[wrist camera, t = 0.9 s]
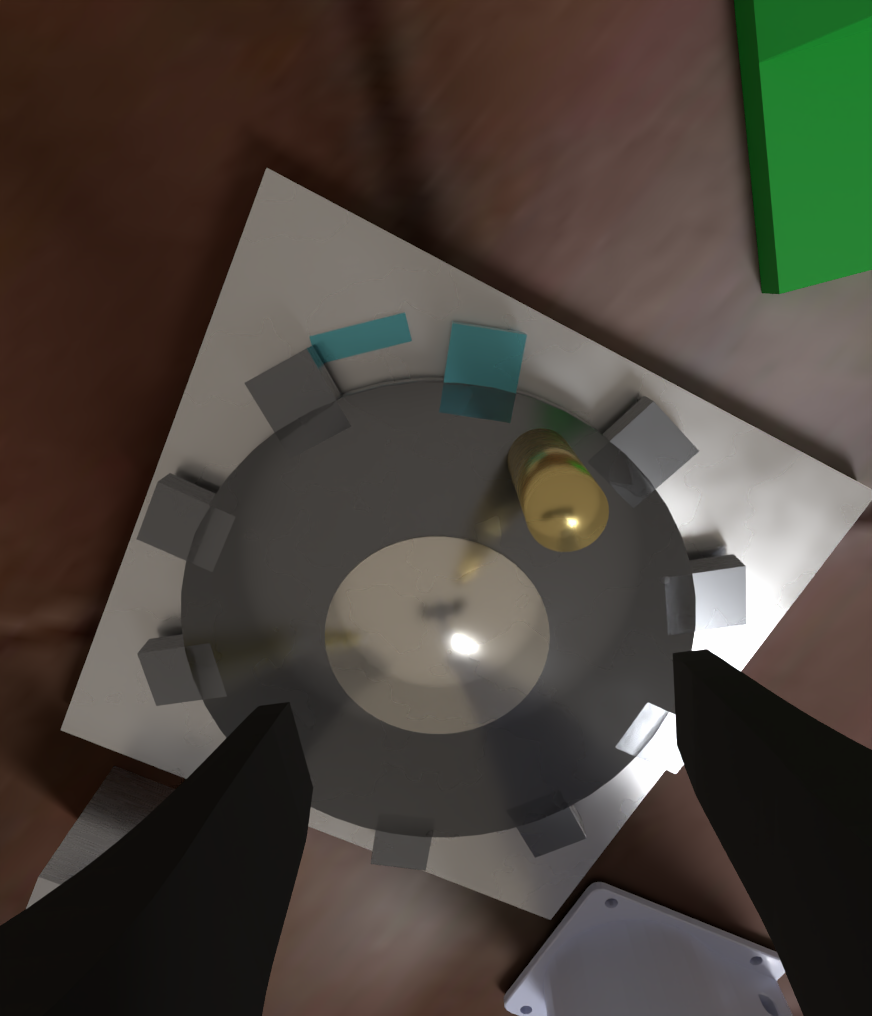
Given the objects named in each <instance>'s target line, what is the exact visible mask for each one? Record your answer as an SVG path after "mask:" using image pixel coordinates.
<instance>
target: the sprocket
mask: <svg viewBox="0 0 872 1016" xmlns="http://www.w3.org/2000/svg"><path fill="white" fill-rule="evenodd" d="M526 338H527V334H525V333H524V332H520V331H513V330H507V329H500V328H494V327H487V326H481V325H474V324H468V323H462V322H455V321H452V326H451V333H450V339H449V346H448V353H447V359H446V366H445V373H444V378H413V379H405V380H397V381H389V382H383V383H379V384H375V385H372V386H368V387H364V388H360V389H356V390H353V391H349V392H347V393H344V394H342V395H341V394H340V392H339V390H338V388H337V386H336V385H335V383H334V381H333V379H332V378H331V376H330V374H329V372H328V371H327V369H326V367H325V365H324V364H323V362H322V360H321V358H320V357H319V355H318V353H317V351H316V350H315V348H314V346H313V345H312V346H310V347H308V348H306V349H305V350H303V351H301V352H299V353H297V354H296V355H294V356H292V357H290V358H288V359H287V360H285V361H283V362H281V363H279V364H278V365H276V366H274V367H272V368H270V369H269V370H267V371H265V372H263V373H261V374H260V375H258V376H256V377H254V378H252V379H251V380H249V381H247V382H245V383H244V384H245V385H246V387H247V388H248V390H249V392H250V393H251V395H252V397H253V398H254V400H255V401H256V403H257V405H258V406H259V408H260V410H261V411H262V413H263V415H264V416H265V418H266V419H267V421H268V423H269V424H270V426H271V428H272V429H273V431H274V433H273V434H272V435H270V436H269V437H268V438H267V439H265V440H264V441H263V442H262V443H260V444H259V445H258V446H257V447H256V448H255V449H254V450H253V451H252V452H251V453H250V454H249V455H248V456H247V457H246V458H245V459H244V460H243V461H242V462H241V463H240V464H239V465H238V466H237V468H236V469H235V470H234V471H233V472H232V473H231V474H230V475H229V476H228V477H227V479H226V480H225V482H224V483H223V485H222V486H221V487H220V489H219V490H218V492H217V493H216V494H215V493H213V492H211V491H209V490H207V489H204V488H202V487H200V486H198V485H196V484H193V483H191V482H189V481H187V480H185V479H182V478H180V477H178V476H176V475H174V474H171V473H169V474H168V475H166V476H165V477H163V478H162V479H161V480H159V481H158V482H157V485H156V487H155V490H154V493H153V495H152V498H151V501H150V504H149V506H148V509H147V512H146V514H145V517H144V520H143V523H142V525H141V528H140V531H139V533H138V536H137V540H140V541H142V542H144V543H146V544H149V545H151V546H153V547H156V548H158V549H160V550H163V551H165V552H167V553H169V554H172V555H174V556H176V557H179V558H181V559H183V560H185V561H186V564H185V570H184V577H183V583H182V590H181V626H182V633H183V634H180V635H173V636H166V637H159V638H152V639H149V640H148V641H147V642H146V643H145V645H144V646H143V647H142V648H141V650H140V651H139V652H138V653H137V655H138V658H139V660H140V663H141V666H142V668H143V671H144V674H145V677H146V679H147V682H148V685H149V687H150V690H151V693H152V696H153V698H154V701H155V704H156V706H161V705H168V704H175V703H182V702H190V701H197V700H203V702H204V704H205V706H206V708H207V709H208V711H209V713H210V714H211V716H212V718H213V719H214V721H215V722H216V724H217V726H218V727H219V729H220V730H221V732H222V733H223V734H224V735H225V737H226V738H227V737H228V736H229V735H230V734H231V733H232V732H233V731H234V730H235V729H236V728H237V727H238V726H239V725H240V724H241V723H242V722H243V721H244V719H245V718H246V717H247V716H248V715H250V714H251V713H252V712H253V711H254V710H255V709H256V708H257V707H258V706H261V705H269V704H277V703H285V702H290V705H291V709H292V712H293V716H294V720H295V723H296V727H297V730H298V734H299V738H300V741H301V745H302V749H303V752H304V756H305V760H306V763H307V767H308V770H309V774H310V778H311V781H312V785H313V794H312V801H311V807H312V808H314V809H316V810H319V811H321V812H323V813H325V814H327V815H330V816H332V817H334V818H337V819H340V820H343V821H346V822H349V823H352V824H355V825H358V826H361V827H364V828H368V829H373V830H375V836H374V842H373V850H372V858H371V864H377V865H385V866H393V867H401V868H409V869H417V870H425V871H426V866H427V861H428V856H429V850H430V845H431V840H432V837H462V836H474V835H483V834H488V833H493V832H498V831H503V830H508V829H512V828H515V827H516V828H517V829H518V831H519V833H520V834H521V836H522V837H523V839H524V841H525V842H526V844H527V846H528V847H529V849H530V851H531V852H532V854H533V855H534V857H535V858H536V857H539V856H541V855H544V854H547V853H549V852H552V851H555V850H557V849H560V848H563V847H565V846H568V845H571V844H573V843H576V842H579V841H581V840H584V839H587V837H586V833H585V829H584V825H583V821H582V818H581V816H580V814H579V813H578V811H577V809H576V807H575V806H574V804H575V803H577V802H578V801H580V800H582V799H584V798H586V797H587V796H589V795H591V794H592V793H594V792H595V791H596V790H598V789H599V788H600V787H602V786H603V785H605V784H606V783H607V782H609V781H610V780H612V779H613V778H614V777H615V776H616V775H618V774H619V773H620V772H621V771H622V770H623V769H624V768H625V767H626V766H627V765H628V764H629V763H631V762H632V761H633V760H634V759H635V758H636V757H638V758H640V759H642V760H645V761H647V762H649V763H651V764H654V765H656V766H658V767H661V768H663V769H665V770H668V771H670V772H672V773H674V774H677V772H678V771H679V770H680V768H681V767H682V766H683V764H684V763H683V760H682V758H681V755H680V752H679V750H678V747H677V741H676V719H675V696H674V674H673V653H677V652H685V651H692V648H693V641H694V635H695V632H696V631H703V630H711V629H718V628H725V627H732V626H740V625H747V623H746V566H745V565H744V564H743V563H742V562H741V561H740V560H739V559H738V558H737V557H736V556H735V555H734V554H729V555H723V556H716V557H709V558H702V559H695V560H689V558H688V554H687V551H686V548H685V545H684V541H683V538H682V535H681V533H680V531H679V529H678V527H677V525H676V523H675V521H674V519H673V517H672V515H671V513H670V511H669V509H668V507H667V505H666V504H665V502H664V501H663V499H662V498H661V496H660V495H659V493H658V492H657V491H656V488H658V487H659V486H660V485H661V484H662V483H663V482H664V481H666V480H667V479H668V478H669V477H670V476H671V475H673V474H674V473H675V472H676V471H677V470H678V469H679V468H681V467H682V466H683V465H684V464H685V463H686V462H688V461H689V460H690V459H691V458H692V457H693V456H694V455H696V454H697V453H698V452H699V450H698V449H697V448H696V447H695V446H694V445H693V444H692V442H691V441H690V440H689V439H688V438H687V437H686V436H685V435H684V434H683V433H682V432H681V430H680V429H679V428H678V427H677V426H676V425H675V424H674V423H673V422H672V421H671V420H670V418H669V417H668V416H667V415H666V414H665V413H664V412H663V411H662V410H661V409H660V407H659V406H658V405H657V404H656V403H655V402H654V401H653V400H651V399H649V398H648V397H646V396H644V397H642V398H641V399H640V400H639V401H638V402H637V403H636V404H635V405H634V406H633V407H632V408H630V409H629V410H628V411H627V412H626V413H625V414H624V415H623V416H622V417H621V418H619V419H618V420H617V421H616V422H615V423H614V424H613V425H612V426H611V427H610V428H609V429H607V430H606V431H605V432H604V433H603V434H602V433H601V432H599V431H598V430H597V429H596V428H594V427H593V426H592V425H591V424H589V423H587V422H586V421H584V420H582V419H581V418H579V417H577V416H576V415H574V414H572V413H571V412H569V411H567V410H566V409H564V408H563V407H561V406H558V405H556V404H554V403H551V402H549V401H547V400H544V399H542V398H540V397H537V396H535V395H533V394H530V393H528V392H525V391H521V390H517V385H518V380H519V375H520V369H521V364H522V359H523V354H524V348H525V343H526Z"/></svg>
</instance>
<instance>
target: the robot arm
mask: <svg viewBox="0 0 872 1016" xmlns="http://www.w3.org/2000/svg"><path fill="white" fill-rule="evenodd" d="M673 674H674V696H675V719H676V741H677V747H678V750H679V752H680V755H681V758H682V760H683V763H684V766H685V768H686V771H687V774H688V776H689V779H690V781H691V784H692V786H693V789H694V791H695V794H696V796H697V798H698V800H699V802H700V804H701V806H702V808H703V810H704V812H705V814H706V816H707V817H708V819H709V821H710V823H711V825H712V827H713V829H714V831H715V833H716V835H717V836H718V838H719V840H720V842H721V844H722V846H723V848H724V850H725V851H726V853H727V855H728V857H729V859H730V861H731V863H732V864H733V866H734V868H735V870H736V872H737V874H738V876H739V878H740V879H741V881H742V883H743V885H744V887H745V889H746V891H747V893H748V894H749V896H750V898H751V900H752V902H753V904H754V906H755V908H756V909H757V911H758V913H759V915H760V917H761V919H762V921H763V923H764V925H765V927H766V930H767V932H768V934H769V936H770V938H771V940H772V942H773V944H774V946H775V949H776V951H777V952H776V951H773V950H771V949H768V948H766V947H763V946H761V945H758V944H756V943H753V942H751V941H748V940H746V939H743V938H741V937H738V936H736V935H733V934H731V933H728V932H726V931H723V930H721V929H718V928H716V927H713V926H711V925H708V924H706V923H703V922H701V921H698V920H696V919H693V918H691V917H688V916H686V915H683V914H681V913H679V912H676V911H674V910H671V909H669V908H666V907H664V906H661V905H659V904H656V903H654V902H651V901H649V900H646V899H644V898H641V897H639V896H636V895H634V894H631V893H629V892H626V891H624V890H621V889H619V888H616V887H614V886H611V885H609V884H606V883H603V882H595V883H592V884H591V885H590V886H589V887H588V888H587V889H586V890H585V891H584V893H583V894H582V895H581V897H580V898H579V899H578V901H577V902H576V903H575V904H574V906H573V907H572V908H571V910H570V911H569V912H568V913H567V915H566V916H565V917H564V919H563V920H562V921H561V923H560V924H559V925H558V926H557V928H556V929H555V930H554V932H553V933H552V934H551V935H550V937H549V938H548V939H547V941H546V942H545V943H544V944H543V946H542V947H541V948H540V950H539V951H538V952H537V954H536V955H535V956H534V957H533V959H532V960H531V961H530V963H529V964H528V965H527V966H526V968H525V969H524V970H523V972H522V973H521V974H520V976H519V977H518V978H517V979H516V981H515V982H514V983H513V985H512V986H511V987H510V988H509V990H508V991H507V992H506V994H505V996H504V1005H505V1008H506V1010H507V1011H509V1012H511V1013H513V1014H516V1015H519V1016H793V1015H792V1013H791V1010H790V1008H789V1006H788V1004H787V1002H786V1000H785V998H784V996H783V993H782V991H781V989H780V987H779V985H778V983H777V980H778V979H779V978H780V977H781V976H782V975H783V974H784V973H785V972H786V975H787V977H788V980H789V982H790V984H791V987H792V989H793V991H794V994H795V996H796V998H797V1001H798V1003H799V1006H800V1008H801V1010H802V1013H803V1015H804V1016H872V750H871V749H869V748H867V747H865V746H863V745H861V744H859V743H857V742H855V741H853V740H852V739H850V738H848V737H846V736H844V735H843V734H841V733H839V732H837V731H835V730H834V729H832V728H830V727H828V726H827V725H825V724H823V723H821V722H819V721H818V720H816V719H814V718H813V717H811V716H809V715H808V714H806V713H804V712H803V711H801V710H799V709H798V708H796V707H795V706H793V705H791V704H790V703H788V702H787V701H785V700H783V699H782V698H780V697H779V696H777V695H776V694H774V693H773V692H771V691H769V690H768V689H766V688H765V687H763V686H762V685H760V684H759V683H757V682H756V681H754V680H753V679H751V678H750V677H748V676H747V675H745V674H744V673H742V672H741V671H739V670H738V669H736V668H735V667H733V666H732V665H731V664H729V663H728V662H726V661H725V660H723V659H722V658H720V657H719V656H717V655H716V654H714V653H712V652H711V651H709V650H708V649H701V650H693V651H685V652H677V653H673ZM312 794H313V785H312V781H311V778H310V774H309V770H308V767H307V763H306V760H305V756H304V752H303V749H302V745H301V741H300V738H299V734H298V730H297V727H296V723H295V720H294V716H293V712H292V709H291V705H290V702H285V703H277V704H269V705H261V706H258V707H257V708H256V709H255V710H254V711H253V712H252V713H251V714H250V715H248V716H247V717H246V718H245V719H244V721H243V722H242V723H241V724H240V725H239V726H238V727H237V728H236V729H235V730H234V731H233V732H232V733H231V734H230V735H229V736H228V737H227V738H226V739H225V740H224V741H223V742H222V743H221V744H220V745H219V746H218V747H217V748H216V749H215V750H214V751H213V753H212V754H211V755H210V756H209V757H208V758H207V759H206V760H205V761H204V762H203V763H202V764H201V765H200V766H199V767H198V768H197V769H196V770H195V771H194V772H193V773H192V774H191V775H190V776H189V777H188V778H187V779H186V780H185V781H184V782H183V783H182V784H181V785H179V786H178V787H177V788H176V789H175V790H174V791H173V792H172V793H171V794H170V795H169V796H168V797H167V798H166V799H165V800H163V801H162V802H161V803H160V804H159V805H158V806H157V807H156V808H155V809H154V810H153V811H152V812H151V813H150V814H149V815H147V816H146V817H145V818H144V819H143V820H142V821H141V822H140V823H139V824H137V825H136V826H135V827H134V828H133V829H132V830H130V831H129V832H128V833H127V834H126V835H125V836H123V837H122V838H121V839H120V840H119V841H117V842H116V843H115V844H114V845H112V846H111V847H110V848H109V849H107V850H106V851H105V852H104V853H102V854H101V855H100V856H99V857H97V858H96V859H95V860H94V861H92V862H91V863H90V864H88V865H87V866H86V867H85V868H83V869H82V870H81V871H79V872H78V873H76V874H75V875H74V876H72V877H71V878H69V879H68V880H67V881H65V882H64V883H62V884H61V885H59V886H58V887H57V888H55V889H54V890H52V891H51V892H50V893H48V894H47V895H45V896H44V897H43V898H41V899H40V900H38V901H37V902H35V903H34V904H33V905H31V906H30V907H28V908H27V909H26V910H24V911H23V912H21V913H20V914H18V915H16V916H15V917H13V918H12V919H10V920H9V921H7V922H6V923H4V924H2V925H1V926H0V1016H262V1012H263V1006H264V1001H265V995H266V990H267V986H268V982H269V977H270V973H271V969H272V964H273V961H274V957H275V953H276V950H277V946H278V942H279V939H280V935H281V931H282V928H283V924H284V920H285V917H286V913H287V909H288V906H289V902H290V899H291V895H292V891H293V888H294V884H295V880H296V876H297V873H298V869H299V865H300V861H301V858H302V854H303V850H304V846H305V842H306V837H307V830H308V824H309V817H310V809H311V801H312ZM611 898H612V899H611Z"/></svg>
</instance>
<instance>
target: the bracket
mask: <svg viewBox="0 0 872 1016" xmlns="http://www.w3.org/2000/svg"><path fill="white" fill-rule="evenodd" d="M734 7H735V17H736V28H737V38H738V49H739V59H740V70H741V80H742V91H743V101H744V111H745V122H746V132H747V143H748V153H749V164H750V174H751V185H752V195H753V206H754V216H755V226H756V237H757V247H758V258H759V268H760V279H761V289H762V293H770V294H781V293H785V292H789V291H793V290H796V289H800V288H804V287H808V286H812V285H815V284H819V283H823V282H827V281H831V280H834V279H838V278H842V277H846V276H850V275H853V274H857V273H861V272H865V271H868V270H872V0H734Z"/></svg>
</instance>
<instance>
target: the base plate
mask: <svg viewBox="0 0 872 1016" xmlns="http://www.w3.org/2000/svg"><path fill="white" fill-rule="evenodd" d="M452 321H455V322H462V323H468V324H474V325H481V326H487V327H494V328H500V329H507V330H513V331H520V332H524V333H525V334H527V338H526V343H525V348H524V354H523V359H522V364H521V369H520V375H519V380H518V385H517V390H521V391H525V392H528V393H530V394H533V395H535V396H537V397H540V398H542V399H544V400H547V401H549V402H551V403H554V404H556V405H558V406H561V407H563V408H564V409H566V410H567V411H569V412H571V413H572V414H574V415H576V416H577V417H579V418H581V419H582V420H584V421H586V422H587V423H589V424H591V425H592V426H593V427H594V428H596V429H597V430H598V431H599V432H601V433H602V434H603V433H604V432H605V431H606V430H607V429H609V428H610V427H611V426H612V425H613V424H614V423H615V422H616V421H617V420H618V419H619V418H621V417H622V416H623V415H624V414H625V413H626V412H627V411H628V410H629V409H630V408H632V407H633V406H634V405H635V404H636V403H637V402H638V401H639V400H640V399H641V398H642V397H644V396H646V397H648V398H649V399H651V400H653V401H654V402H655V403H656V404H657V405H658V406H659V407H660V409H661V410H662V411H663V412H664V413H665V414H666V415H667V416H668V417H669V418H670V420H671V421H672V422H673V423H674V424H675V425H676V426H677V427H678V428H679V429H680V430H681V432H682V433H683V434H684V435H685V436H686V437H687V438H688V439H689V440H690V441H691V442H692V444H693V445H694V446H695V447H696V448H697V449H698V450H699V452H698V453H697V454H696V455H694V456H693V457H692V458H691V459H690V460H689V461H688V462H686V463H685V464H684V465H683V466H682V467H681V468H679V469H678V470H677V471H676V472H675V473H674V474H673V475H671V476H670V477H669V478H668V479H667V480H666V481H664V482H663V483H662V484H661V485H660V486H659V487H658V488H656V491H657V492H658V493H659V495H660V496H661V498H662V499H663V501H664V502H665V504H666V505H667V507H668V509H669V511H670V513H671V515H672V517H673V519H674V521H675V523H676V525H677V527H678V529H679V531H680V533H681V535H682V538H683V541H684V545H685V548H686V551H687V554H688V558H689V560H695V559H702V558H709V557H716V556H723V555H729V554H734V555H735V556H736V557H737V558H738V559H739V560H740V561H741V562H742V563H743V564H744V565H745V566H746V623H747V625H740V626H732V627H725V628H718V629H711V630H703V631H696V632H695V635H694V641H693V648H692V651H693V650H701V649H708V650H709V651H711V652H712V653H714V654H716V655H717V656H719V657H720V658H722V659H723V660H725V661H726V662H728V663H729V664H731V665H732V666H733V667H735V668H736V669H738V670H739V671H741V670H742V669H743V668H744V667H745V665H746V664H747V663H748V661H749V660H750V659H751V657H752V656H753V655H754V653H755V652H756V651H757V650H758V648H759V647H760V646H761V644H762V643H763V642H764V640H765V639H766V638H767V636H768V635H769V634H770V633H771V631H772V630H773V629H774V627H775V626H776V625H777V623H778V622H779V621H780V619H781V618H782V617H783V616H784V614H785V613H786V612H787V610H788V609H789V608H790V606H791V605H792V604H793V602H794V601H795V600H796V599H797V597H798V596H799V595H800V593H801V592H802V591H803V589H804V588H805V587H806V585H807V584H808V583H809V582H810V580H811V579H812V578H813V576H814V575H815V574H816V572H817V571H818V570H819V568H820V567H821V566H822V565H823V563H824V562H825V561H826V559H827V558H828V557H829V555H830V554H831V553H832V551H833V550H834V549H835V548H836V546H837V545H838V544H839V542H840V541H841V540H842V538H843V537H844V536H845V534H846V533H847V532H848V531H849V529H850V528H851V527H852V525H853V524H854V523H855V521H856V520H857V519H858V517H859V516H860V515H861V514H862V512H863V511H864V510H865V508H866V507H867V506H868V504H869V503H870V502H871V500H872V489H870V488H869V487H867V486H865V485H863V484H861V483H859V482H857V481H855V480H854V479H852V478H850V477H848V476H846V475H844V474H842V473H840V472H838V471H837V470H835V469H833V468H831V467H829V466H827V465H825V464H823V463H822V462H820V461H818V460H816V459H814V458H812V457H810V456H808V455H806V454H805V453H803V452H801V451H799V450H797V449H795V448H793V447H791V446H790V445H788V444H786V443H784V442H782V441H780V440H778V439H776V438H775V437H773V436H771V435H769V434H767V433H765V432H763V431H761V430H759V429H758V428H756V427H754V426H752V425H750V424H748V423H746V422H744V421H743V420H741V419H739V418H737V417H735V416H733V415H731V414H729V413H727V412H726V411H724V410H722V409H720V408H718V407H716V406H714V405H712V404H711V403H709V402H707V401H705V400H703V399H701V398H699V397H697V396H695V395H694V394H692V393H690V392H688V391H686V390H684V389H682V388H680V387H679V386H677V385H675V384H673V383H671V382H669V381H667V380H665V379H664V378H662V377H660V376H658V375H656V374H654V373H652V372H650V371H648V370H647V369H645V368H643V367H641V366H639V365H637V364H635V363H633V362H632V361H630V360H628V359H626V358H624V357H622V356H620V355H618V354H616V353H615V352H613V351H611V350H609V349H607V348H605V347H603V346H601V345H600V344H598V343H596V342H594V341H592V340H590V339H588V338H586V337H584V336H583V335H581V334H579V333H577V332H575V331H573V330H571V329H569V328H568V327H566V326H564V325H562V324H560V323H558V322H556V321H554V320H553V319H551V318H549V317H547V316H545V315H543V314H541V313H539V312H537V311H536V310H534V309H532V308H530V307H528V306H526V305H524V304H522V303H521V302H519V301H517V300H515V299H513V298H511V297H509V296H507V295H505V294H504V293H502V292H500V291H498V290H496V289H494V288H492V287H490V286H489V285H487V284H485V283H483V282H481V281H479V280H477V279H475V278H473V277H472V276H470V275H468V274H466V273H464V272H462V271H460V270H458V269H457V268H455V267H453V266H451V265H449V264H447V263H445V262H443V261H442V260H440V259H438V258H436V257H434V256H432V255H430V254H428V253H426V252H425V251H423V250H421V249H419V248H417V247H415V246H413V245H411V244H410V243H408V242H406V241H404V240H402V239H400V238H398V237H396V236H394V235H393V234H391V233H389V232H387V231H385V230H383V229H381V228H379V227H378V226H376V225H374V224H372V223H370V222H368V221H366V220H364V219H362V218H361V217H359V216H357V215H355V214H353V213H351V212H349V211H347V210H346V209H344V208H342V207H340V206H338V205H336V204H334V203H332V202H331V201H329V200H327V199H325V198H323V197H321V196H319V195H317V194H315V193H314V192H312V191H310V190H308V189H306V188H304V187H302V186H300V185H299V184H297V183H295V182H293V181H291V180H289V179H287V178H285V177H283V176H282V175H280V174H278V173H276V172H274V171H272V170H270V169H268V168H266V170H265V173H264V176H263V179H262V181H261V184H260V187H259V189H258V192H257V195H256V198H255V200H254V203H253V206H252V209H251V211H250V214H249V217H248V219H247V222H246V225H245V228H244V230H243V233H242V236H241V239H240V241H239V244H238V247H237V250H236V252H235V255H234V258H233V260H232V263H231V266H230V269H229V271H228V274H227V277H226V280H225V282H224V285H223V288H222V290H221V293H220V296H219V299H218V301H217V304H216V307H215V310H214V312H213V315H212V318H211V320H210V323H209V326H208V329H207V331H206V334H205V337H204V340H203V342H202V345H201V348H200V350H199V353H198V356H197V359H196V361H195V364H194V367H193V370H192V372H191V375H190V378H189V381H188V383H187V386H186V389H185V391H184V394H183V397H182V400H181V402H180V405H179V408H178V411H177V413H176V416H175V419H174V421H173V424H172V427H171V430H170V432H169V435H168V438H167V441H166V443H165V446H164V449H163V451H162V454H161V457H160V460H159V462H158V465H157V468H156V471H155V473H154V476H153V479H152V481H151V484H150V487H149V490H148V492H147V495H146V498H145V501H144V503H143V506H142V509H141V511H140V514H139V517H138V520H137V522H136V525H135V528H134V531H133V533H132V536H131V539H130V542H129V544H128V547H127V550H126V552H125V555H124V558H123V561H122V563H121V566H120V569H119V572H118V574H117V577H116V580H115V582H114V585H113V588H112V591H111V593H110V596H109V599H108V602H107V604H106V607H105V610H104V612H103V615H102V618H101V621H100V623H99V626H98V629H97V632H96V634H95V637H94V640H93V642H92V645H91V648H90V651H89V653H88V656H87V659H86V662H85V664H84V667H83V670H82V672H81V675H80V678H79V681H78V683H77V686H76V689H75V692H74V694H73V697H72V700H71V703H70V705H69V708H68V711H67V713H66V716H65V719H64V722H63V724H62V727H61V731H64V732H67V733H69V734H72V735H74V736H77V737H80V738H82V739H85V740H87V741H90V742H92V743H95V744H98V745H100V746H103V747H105V748H108V749H111V750H113V751H116V752H118V753H121V754H123V755H126V756H129V757H131V758H134V759H136V760H139V761H141V762H144V763H147V764H149V765H152V766H154V767H157V768H160V769H162V770H165V771H167V772H170V773H172V774H175V775H178V776H180V777H183V778H185V779H187V778H188V777H189V776H190V775H191V774H192V773H193V772H194V771H195V770H196V769H197V768H198V767H199V766H200V765H201V764H202V763H203V762H204V761H205V760H206V759H207V758H208V757H209V756H210V755H211V754H212V753H213V751H214V750H215V749H216V748H217V747H218V746H219V745H220V744H221V743H222V742H223V741H224V740H225V739H226V737H225V735H224V734H223V733H222V732H221V730H220V729H219V727H218V726H217V724H216V722H215V721H214V719H213V718H212V716H211V714H210V713H209V711H208V709H207V708H206V706H205V704H204V702H203V700H197V701H190V702H182V703H175V704H168V705H161V706H156V704H155V701H154V698H153V696H152V693H151V690H150V687H149V685H148V682H147V679H146V677H145V674H144V671H143V668H142V666H141V663H140V660H139V658H138V655H137V653H138V652H139V651H140V650H141V648H142V647H143V646H144V645H145V643H146V642H147V641H148V640H149V639H152V638H159V637H166V636H173V635H180V634H183V633H182V626H181V590H182V583H183V577H184V570H185V564H186V561H185V560H183V559H181V558H179V557H176V556H174V555H172V554H169V553H167V552H165V551H163V550H160V549H158V548H156V547H153V546H151V545H149V544H146V543H144V542H142V541H140V540H137V536H138V533H139V531H140V528H141V525H142V523H143V520H144V517H145V514H146V512H147V509H148V506H149V504H150V501H151V498H152V495H153V493H154V490H155V487H156V485H157V482H158V481H159V480H161V479H162V478H163V477H165V476H166V475H168V474H169V473H171V474H174V475H176V476H178V477H180V478H182V479H185V480H187V481H189V482H191V483H193V484H196V485H198V486H200V487H202V488H204V489H207V490H209V491H211V492H213V493H215V494H216V493H217V492H218V490H219V489H220V487H221V486H222V485H223V483H224V482H225V480H226V479H227V477H228V476H229V475H230V474H231V473H232V472H233V471H234V470H235V469H236V468H237V466H238V465H239V464H240V463H241V462H242V461H243V460H244V459H245V458H246V457H247V456H248V455H249V454H250V453H251V452H252V451H253V450H254V449H255V448H256V447H257V446H258V445H259V444H260V443H262V442H263V441H264V440H265V439H267V438H268V437H269V436H270V435H272V434H273V433H274V431H273V429H272V428H271V426H270V424H269V423H268V421H267V419H266V418H265V416H264V415H263V413H262V411H261V410H260V408H259V406H258V405H257V403H256V401H255V400H254V398H253V397H252V395H251V393H250V392H249V390H248V388H247V387H246V385H245V384H244V383H245V382H247V381H249V380H251V379H252V378H254V377H256V376H258V375H260V374H261V373H263V372H265V371H267V370H269V369H270V368H272V367H274V366H276V365H278V364H279V363H281V362H283V361H285V360H287V359H288V358H290V357H292V356H294V355H296V354H297V353H299V352H301V351H303V350H305V349H306V348H308V347H310V346H312V345H313V346H314V348H315V350H316V351H317V353H318V355H319V357H320V358H321V360H322V362H323V364H324V365H325V367H326V369H327V371H328V372H329V374H330V376H331V378H332V379H333V381H334V383H335V385H336V386H337V388H338V390H339V392H340V394H341V395H342V394H344V393H347V392H349V391H353V390H356V389H360V388H364V387H368V386H372V385H375V384H379V383H383V382H389V381H397V380H405V379H413V378H444V373H445V366H446V359H447V353H448V346H449V339H450V333H451V326H452ZM664 771H665V769H663V768H661V767H658V766H656V765H654V764H651V763H649V762H647V761H645V760H642V759H640V758H638V757H636V758H635V759H634V760H633V761H632V762H631V763H629V764H628V765H627V766H626V767H625V768H624V769H623V770H622V771H621V772H620V773H619V774H618V775H616V776H615V777H614V778H613V779H612V780H610V781H609V782H607V783H606V784H605V785H603V786H602V787H600V788H599V789H598V790H596V791H595V792H594V793H592V794H591V795H589V796H587V797H586V798H584V799H582V800H580V801H578V802H577V803H575V804H574V806H575V807H576V809H577V811H578V813H579V814H580V816H581V818H582V821H583V825H584V829H585V833H586V837H587V839H584V840H581V841H579V842H576V843H573V844H571V845H568V846H565V847H563V848H560V849H557V850H555V851H552V852H549V853H547V854H544V855H541V856H539V857H536V858H535V857H534V855H533V854H532V852H531V851H530V849H529V847H528V846H527V844H526V842H525V841H524V839H523V837H522V836H521V834H520V833H519V831H518V829H517V828H516V827H515V828H512V829H508V830H503V831H498V832H493V833H488V834H483V835H474V836H462V837H432V840H431V845H430V850H429V856H428V861H427V866H426V871H425V870H423V871H425V872H428V873H430V874H433V875H436V876H438V877H441V878H443V879H446V880H448V881H451V882H454V883H456V884H459V885H461V886H464V887H467V888H469V889H472V890H474V891H477V892H479V893H482V894H485V895H487V896H490V897H492V898H495V899H497V900H500V901H503V902H505V903H508V904H510V905H513V906H516V907H518V908H521V909H523V910H526V911H528V912H531V913H534V914H536V915H539V916H541V917H544V918H547V919H549V920H551V919H552V918H553V916H554V915H555V914H556V912H557V911H558V910H559V908H560V907H561V906H562V905H563V903H564V902H565V901H566V899H567V898H568V897H569V895H570V894H571V893H572V891H573V890H574V889H575V888H576V886H577V885H578V884H579V882H580V881H581V880H582V878H583V877H584V876H585V874H586V873H587V872H588V871H589V869H590V868H591V867H592V865H593V864H594V863H595V861H596V860H597V859H598V857H599V856H600V855H601V854H602V852H603V851H604V850H605V848H606V847H607V846H608V844H609V843H610V842H611V840H612V839H613V838H614V837H615V835H616V834H617V833H618V831H619V830H620V829H621V827H622V826H623V825H624V823H625V822H626V821H627V820H628V818H629V817H630V816H631V814H632V813H633V812H634V810H635V809H636V808H637V806H638V805H639V804H640V803H641V801H642V800H643V799H644V797H645V796H646V795H647V793H648V792H649V791H650V789H651V788H652V787H653V786H654V784H655V783H656V782H657V780H658V779H659V778H660V776H661V775H662V774H663V772H664ZM308 826H309V827H312V828H314V829H317V830H319V831H322V832H325V833H327V834H330V835H332V836H335V837H338V838H340V839H343V840H345V841H348V842H350V843H353V844H356V845H358V846H361V847H363V848H366V849H368V850H371V851H372V850H373V842H374V836H375V830H373V829H368V828H364V827H361V826H358V825H355V824H352V823H349V822H346V821H343V820H340V819H337V818H334V817H332V816H330V815H327V814H325V813H323V812H321V811H319V810H316V809H314V808H312V807H311V809H310V817H309V824H308Z"/></svg>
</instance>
